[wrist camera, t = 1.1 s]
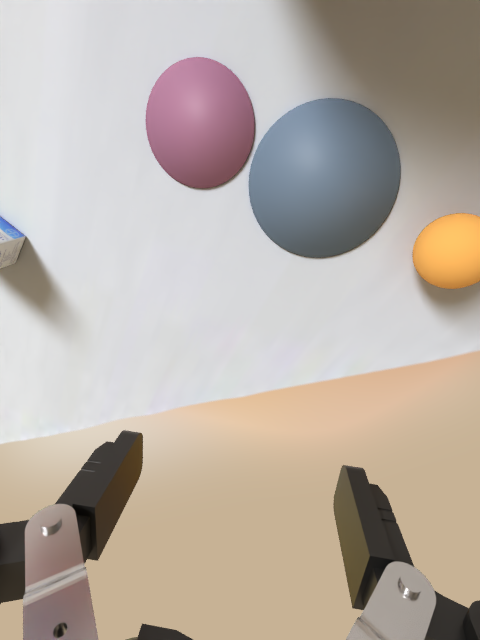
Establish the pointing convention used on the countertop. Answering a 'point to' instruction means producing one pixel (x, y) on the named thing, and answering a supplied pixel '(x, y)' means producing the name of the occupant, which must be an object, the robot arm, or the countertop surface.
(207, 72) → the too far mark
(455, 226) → the ball
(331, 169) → the blue-gray disc
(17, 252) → the medicine box
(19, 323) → the countertop surface
